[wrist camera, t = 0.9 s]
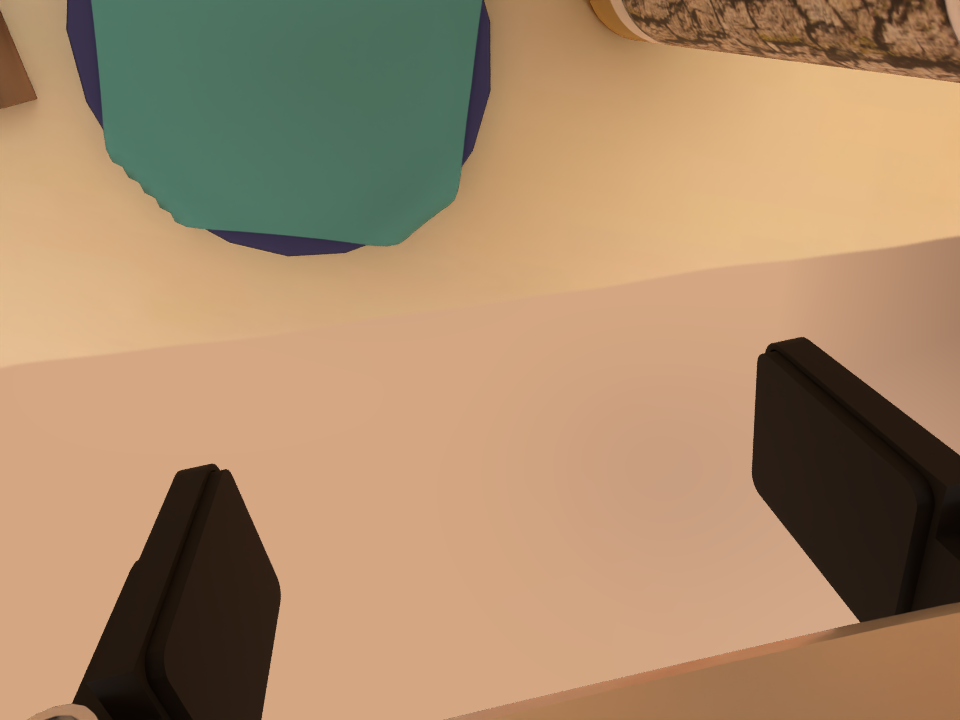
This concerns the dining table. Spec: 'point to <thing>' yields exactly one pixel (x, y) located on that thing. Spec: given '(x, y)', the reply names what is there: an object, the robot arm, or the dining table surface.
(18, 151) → the dining table surface
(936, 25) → the paper tube
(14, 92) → the peg block
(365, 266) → the dining table surface
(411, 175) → the cutlery set
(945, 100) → the dining table surface
